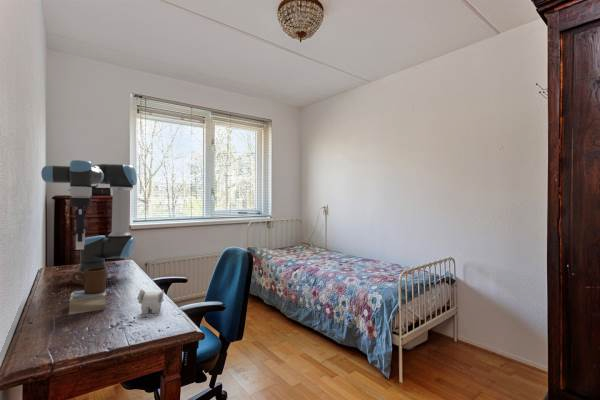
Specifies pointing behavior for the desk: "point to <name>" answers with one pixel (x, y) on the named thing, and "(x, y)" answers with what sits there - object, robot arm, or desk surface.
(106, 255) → the robot arm
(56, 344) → the desk surface
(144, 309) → the elephant figurine
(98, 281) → the mug
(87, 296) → the plinth
